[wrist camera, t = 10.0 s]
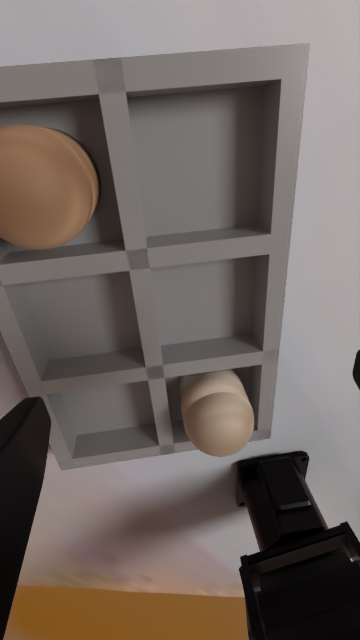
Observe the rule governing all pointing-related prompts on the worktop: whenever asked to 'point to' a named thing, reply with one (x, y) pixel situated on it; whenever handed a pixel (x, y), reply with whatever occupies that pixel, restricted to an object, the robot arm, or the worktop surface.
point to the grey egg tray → (157, 242)
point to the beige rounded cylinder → (216, 411)
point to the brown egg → (45, 186)
